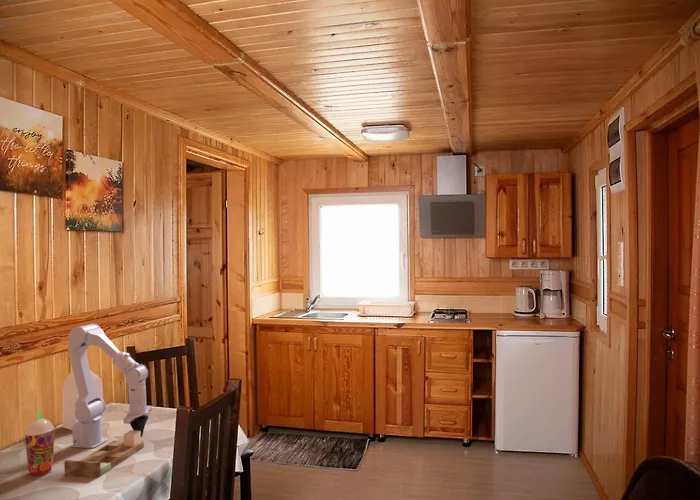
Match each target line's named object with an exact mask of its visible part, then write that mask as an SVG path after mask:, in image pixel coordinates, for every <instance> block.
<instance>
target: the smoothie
mask: <svg viewBox="0 0 700 500" xmlns="http://www.w3.org/2000/svg"><path fill="white" fill-rule="evenodd" d="M55 428H56V427H55V426H54V424H53V423H52V422H51V420H49V419H47V418H45V417H41V410H40V409H39V410H37V419H34V420H32V421H31V422H30V423H29V424H28V425H27V427H26V430H25V431H24V432H23V433H24V439H25V440H24V441H25V450H26V459H27V460H26V461H27V469H28V472H29V473H30V474H29V475H31V476H35V477H38V476H43V475H45V474H48V473H50V472H51V470H52V467H54V454H55V452H54V449H55V447H54V446H55Z"/></svg>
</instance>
